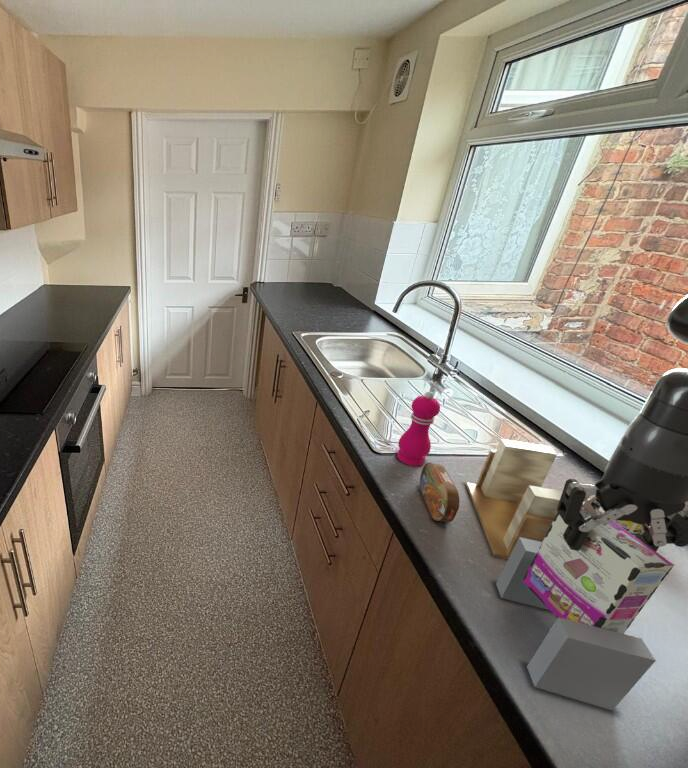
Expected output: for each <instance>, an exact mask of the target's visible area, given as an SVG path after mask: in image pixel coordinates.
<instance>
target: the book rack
mask: <svg viewBox="0 0 688 768" xmlns="http://www.w3.org/2000/svg"><path fill="white" fill-rule="evenodd" d="M557 456H558V453H557V452H556V451H555V449H554V448H553V447H552V446H550V445H545V444H538V443H531V442H524V441H518V440H512V439H505V438H500V440H499V443H498V445H497V448H496V449H489V452H488V454H487V456H486V459H485V461H484V464H483V466H482V469H481V471H480V473H479V476H478V479H477V481H476V483H474V482H473V483H472V482H466V484H465V487H466V489H467V491H468V494H469V498H470V499H471V502H472V504H473V507H474V509H475V512H476V514H477V517H478V519H479V522H480V524H481V526H482V530H483V532H484V535H485V538H486V540H487V542H488V545H489V547H490V550H491V553H492V555H493V557H496V558H501V559H506V560H508V559H509V557H510V555H511V553H512V551H513V549H514V547H515V545H516V543H517V541H518V539H519V537H521V538H525V539H530V540H535V541H540V542H543V540H544V538H545V536H546V534H547V532H548V530H549V528H550V526H551V525H552V522H553V520H554V519H555V516H556V514H557V513H558V511H557V507H558V504H559V501H560V498H561V495H562V492H563V490H559V489H552V488H548V487H542V486H543V484H544V482H545V480H546V478H547V476H548V474H549V472H550V470H551V468H552V466H553V464H554V461H555V459H556V458H557ZM590 499H592V498H591V496H590V497H589V498H588V499H587V500H590ZM584 503H585V502H583V504H582V505H584Z"/></svg>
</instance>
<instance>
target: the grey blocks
mask: <svg viewBox="0 0 688 768" xmlns="http://www.w3.org/2000/svg"><path fill="white" fill-rule="evenodd" d="M541 544H542V542H540V541H535V540H530V539H525V538H521V537H519V539H518V541H517V543H516V545H515V547H514V549H513V551H512V553H511V555H510V557H509V559H507V561H506V563H505V565H504V567H503V568H502V571H501V573H500V575H499V577H498V579H497V580H496V583H495V585H496V588H497V590H498V594H499V596H500V598H501V599H504V600H508V601H511V602H516V603H519V604H524V605H528V606H531V607H535V608H540V609H543V610H544V609H545V610H547V611H550V610H549V609H548V608H547V607H546V606H545V605H544V604H543V603H542V602H541V600H540V599H539V598H538V597H537V596H536V595H535V594H534V593H533V592H532V591H531V590H530V589H529V588H528V587H527V586H526V585H525V583H524V582H523V579H524V577H525V575H526V573H527V571H528V569H529V567H530V565H531V563H532V561H533V559H534V557H535V556H536V554H537V552H538V550H539V548H540V546H541ZM655 662H656V659H655V658H654V655H653V654H652V653H651V651H650V649H649V647H648V646H647V645H646V643H645V641H644V640H643V639H642V638H640V637H637V636H634V635H629V634H625V633H624V634H622V633H618V632H614V631H610V630H606V629H602V628H598V627H594V626H591V625H587V624H583V623H579V622H575V621H571V620H567V619H563V618H559V617H558V618H557V617H556V619H555V621H554V623H553V625H552V626H551V628H550V629H549V631H548V633H547V634H546V636H545V637H544V639H543V640H542V642H541V644H540V645H539V647H538V648H537V650H536V651H535V653H534V655H533V656H532V658H531V659H530V660H529V662H528V664H527V665H526V668H527V671H528V674H529V676H530V679H531V682H532V684H533V687H534V688H536V689H539V690H543V691H547V692H550V693H553V694H555V695H559V696H563V697H567V698H570V699H572V700H576V701H580V702H583V703H586V704H590V705H592V706H595V707H599V708H603V709H606V710H609V711H614V710H615V708H616V707H617V706H618V705H619V704H620V703H621V701H623V699H624V698H625V697H626V696H627V695H628V693H629V692H630V691H631V690H632V689H633V688H634V687H635V686H636V684H637V683H638V682H639V681H640V680H641V678H642V677H643V676H644V675H645V674H646V673H647V672H648V670H649V669H651V667H652V666H653V665H654V663H655Z"/></svg>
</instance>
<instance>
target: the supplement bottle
mask: <svg viewBox="0 0 688 768" xmlns="http://www.w3.org/2000/svg"><path fill="white" fill-rule="evenodd" d="M614 522H616V523H617V524H618V525H620V526H621V527H622V528H624V529H625V530H627V531H628V532H629V533H631V534H632V535H634V534H636V535H637V534H638V533H641V532H642V531H643V529H642V525H641V524H636V523H634V522H631V521H620V520H614Z"/></svg>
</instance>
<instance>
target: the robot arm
mask: <svg viewBox="0 0 688 768" xmlns="http://www.w3.org/2000/svg"><path fill="white" fill-rule="evenodd" d="M666 327H667V330H668V332H669V334H670V335H671V337H673V338H674V339H676V340H677V341H679V342H680V343H682V344H685V345H688V294H686V295H685V296H684V297H683V298H681V299H680V300H679V301H678V302H677V303H676V304H675V305H674V306H673V307H672V309H671V310H670V311H669V314H668V317H667V319H666ZM562 491H563V492H562V495H561V498H560V501H559V504H558V507H557V511H558V513H559V515H560V516H561V518H562V519H563V521H564V523H565V524H567V525H568V527H567V528H566V530H565V532H564V534H563V538H564V540H565V541H566V543H567V545H568V546H569V547H570V549H571V550H576V551H579V550H580V548H581V546H582V545H583V543H584V541H585V540H586V538H587V536H588V534H589V532H588V531H589V530H591V529H593V528H595V527H597V526H598V525H607V524H609V523H611V522H612V521H614V520H620V521H631V522H634V523H636V524H641V525H642V532H643V533H642V532H639V533H637V534H636V535H635V537H636V538H638V539H639V540H640V541H642V542H643V543H645V544H646V545H647V546H649V547H650V548H651V549H653V550H654V551H656V552H657V551H658V550H659V548H660V547H665V546H667V544H668V545H669V544H670V545H672V544H673V545H674V546H676V547H680V548H682V547H683V548H684V547H686V546H688V367H681V368H673V369H670V370H668V371H665V372H664V373H663V374H661V376H660V377H659V378H658V380H657V381H656V383H655V384H654V386H653V388H652V390H651V391H650V393H649V395H648V397H647V398H646V400H645V401H644V404H643V405H642V406H641V409H640V410H639V412H638V414H637V415H636V416H635V418H634V419H633V420H632V421H631V422H630V424H629V425H628V427H627V428H626V430H625V432H624V433H623V436H622V437H621V438H620V441H619V442H618V445H617V446H616V448H615V449H614V452H613V453H612V455H611V456H610V458H609V460H608V462H607V464H606V466H605V468H604V472H603V476H602V478H601V479H599V480H598V481H596V482H595V483H593V484H588V483H579V481H578V480H576V479H575V478H569V479H567V480H566V481H565V483H564V486H563V489H562ZM591 496H593V497H592V498H591ZM589 497H590V498H591V499H590V500H587V499H588V498H589ZM583 502H585V503H584V506H583V508H581V507H582V504H583ZM600 508H601V509H602V510H603V512H602V511H601V510H600ZM601 512H602V513H601ZM672 515H673V516H672ZM589 516H591V517H590V518H588V519H586V520H585V518H587V517H589ZM669 516H672V517H671V518H670V519H669V521H668V522H667V523H666V520H665V518H667V517H669Z"/></svg>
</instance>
